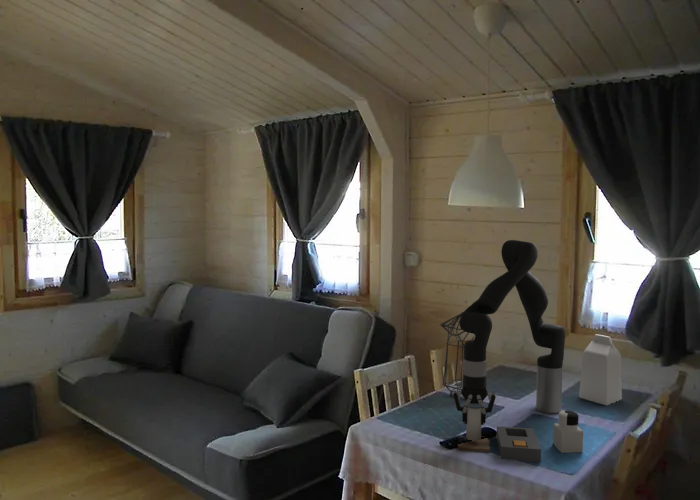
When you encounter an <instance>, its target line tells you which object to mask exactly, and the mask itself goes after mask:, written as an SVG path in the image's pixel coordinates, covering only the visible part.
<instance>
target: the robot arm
mask: <svg viewBox="0 0 700 500" xmlns="http://www.w3.org/2000/svg"><path fill="white" fill-rule="evenodd" d="M502 244H503V245H502V246H501V251H500V252H501V259H502V261H503V265H504V266H505V268H506V269H507V271H506V272H504V273H503V274H501V275H500V276H498V277H496V278H495V279H493V280H492V281H491V282H489V284H488V285H487V286H486V287H485V289H483V291H482V293H481V294H480V295H479V297H478V299H477V300H475V301H474V302H472V304H471V305H470V306H468V307H467V308H466V309H465V310H464V311H462V312H463V314H462V315H461V317H460V318H459V320H460V321H459V320H458V321H459V322H458V323H459V327H460V328H459V329H462V330H461V331H462V332H463V331H465V332H464V333H469V334H473V335H474V334H475V335H474V338H473V340H472V339H470V340H466V341H467V342H464V346H463V347H464V348H463V374H462V380H463V381H462V387H463V388H461V389H462V390H458V391H459V392H457V390H456V391H455V390H453V391H454V392H452V394H453V395H452V396H454V397H453V399H454V402H455V407H456V410H457V411H458V412H461V413H462V415H461V417H462V419H461V421H462V422H463V423H464V425H466V424H467V408H468V404H470V403H478V404H481V411H482V414H481V426H484V424H486V422H487V421H486V420H487V418H486V417H487V414H488V413H492V411H493V407H494V403H495V401H496V393H495V392H488V390H487V373H488V371H487V346H488V342H489V339H490V336H491V333H492V329H493V322H492V321H493V320H492V318H491V317H490V316H489V315H492V314H493V315H494V314H495V313H496V312H497V311H498V310H499V309H500V306H501V305H502V304H503V302H504V301H505V299H506V297H507V296H508V294H509V293H510V292H511V291H512V290H513V288H516V290H517V293H518V297H519V299H520V302H521V304H522V306H523V309H524V311H525V313H526V317H527V320H528V322H529V323H528V324H529V327H530V331H531V335H532V336H531V337H532V340H533V342H534V343H535V344H536V346H538V347H540V348H545V349H551V351H550V353H549V354H545V355H544V354H543V355H540V356H538V357H537V360H536V397H535V409H536V410H537V411H539V412H542V413H546V414H557V413H558V414H559V412H561V411H562V402H563V401H562V399H563V398H562V396H563V395H562V394H563V392H562V391H563V390H562V389H563V366H564V365H563V364H564V363H563V362H564V359H565V358H564V356H565V346H566V345H565V342H566V330H565V328H564V327H563V326H562V325H559V324H551V323H546V322H544V321H543V318H542V317H543V315H544V313H545V312H546V309H547V307H548V305H549V299H548V295H547V293H546V289H545V287H544V285H543V284H542V283H541V281H540V280H539V279H538V278H537V277H536V276H535V275H533V274H532V273H531V272H530V270H531V269H532V268H533V267H534V265H535V264H536V262H537V260H538V257H539V251H538V250H539V249H538V247H537V245H536V244H535V243H533V242H530V241H524V240H515V239H511V240H510V239H509V240H506V241H505V242H504V243H502ZM461 396H462V397H463V399H465V400H464V403H463V405H461V403H460V399H459V398H461ZM485 399H488V400H489V402H488V404H487V407H485V404H484V400H485ZM467 403H468V404H467Z"/></svg>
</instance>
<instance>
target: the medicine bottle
mask: <svg viewBox="0 0 700 500" xmlns="http://www.w3.org/2000/svg"><path fill="white" fill-rule="evenodd" d="M552 429H553V431H552V444H553V445H554V447H555V448H556V449H557V450H558V451H559V452H560V453H563V454H564V453H565V454H566V453H571V454H572V453H574V454H575V453H583V451H584V450H583V449H584V431H583V430H582V429H581V428H580V427H579V414H578V413H577V412H575V411H572V410H561V412H559V413H558V422H556V423H553V428H552Z"/></svg>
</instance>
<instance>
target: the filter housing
mask: <svg viewBox="0 0 700 500" xmlns="http://www.w3.org/2000/svg"><path fill="white" fill-rule="evenodd" d="M495 436H496V441H497V448H498V451H499V452H498V453H499V457H500V460H507V461H508V460H510V461H522V462H523V461H525V462H539V463H541V462H542V449H541V445H540V442H539V440H538V437H537V435H536V432H535V430H534V428H533V427H532V428H531V427H530V428H529V427H517V426H516V427H513V426H499V425H497V426H496V434H495ZM513 440H517V441H525V442H526V446H527V447H514V446H513Z"/></svg>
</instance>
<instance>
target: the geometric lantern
mask: <svg viewBox="0 0 700 500" xmlns="http://www.w3.org/2000/svg"><path fill="white" fill-rule="evenodd" d="M463 312H464V311H462V312H460V313H459V314H457V315H455V316H453V317H451V318H449V319H448V320H446V321H444V322H442V323H440V324H439V325H440V326H441V328H443V329H444V330H445V331H446V332H447V341H446V351H445V360H444V361H445V362H444V371H443V378H442V379H443V380H442V381H443V383H442V386H444V387H445V388H446V389H447V390H448V391H449V396H450V397H451V398H454V395H453V392H454V391H455V390H456V392H459V391H461V390H462V388H463V386H462V384H463V363H464V345H465V343H466V342H467V341H468V340H465V339H466V338H467V337H468V335H469V334H470V333H468V332H465V331H463V330H462V329H461V328H459V327H460V324H459V321H460V317H461V315H462V314H463ZM456 324H457V326H456ZM454 330H455V332H456V334H455V332H454ZM458 331H461V332H459V333H458ZM464 333H466V334H465V336H464V338H463V339H462V338H461V337H460V335H462V334H464ZM452 336H454V337H455V338H456V340H454V341H450V338H451V337H452ZM474 339H475V334H473V336H472V338H471V340H474ZM449 341H450V342H449ZM460 342H461V346H460ZM453 343H457V345H455V344H453ZM449 346H453V347H457V348H456V349H457V350H456V351H457V352H456V359H455V360H456V361H455V362H456V363H455V376H454V379H452V380H450V381H447V375H448V373H447V372H448V357H449V354H448V353H449ZM459 348H461V365H460V366H461V368H460V369H461V371H460V377H461V378H460V379H459V378H457V372H458V362H459V361H458V360H459ZM459 381H460V384H459V385H458V382H459ZM453 382H455V385H456V386H457V387H454V386H451V385H447V384H450V383H453ZM459 400H463V401H465V398H464V397H463V398H462V397H460V398H459Z"/></svg>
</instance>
